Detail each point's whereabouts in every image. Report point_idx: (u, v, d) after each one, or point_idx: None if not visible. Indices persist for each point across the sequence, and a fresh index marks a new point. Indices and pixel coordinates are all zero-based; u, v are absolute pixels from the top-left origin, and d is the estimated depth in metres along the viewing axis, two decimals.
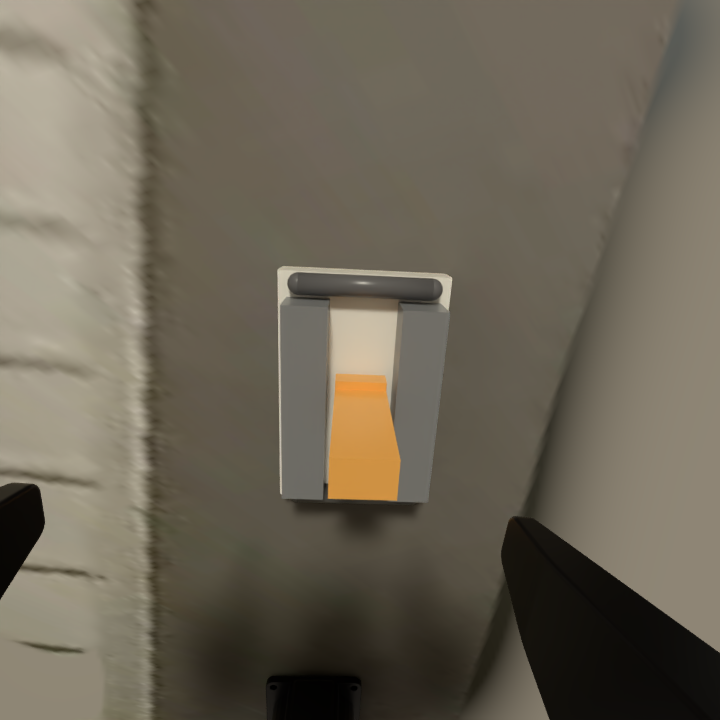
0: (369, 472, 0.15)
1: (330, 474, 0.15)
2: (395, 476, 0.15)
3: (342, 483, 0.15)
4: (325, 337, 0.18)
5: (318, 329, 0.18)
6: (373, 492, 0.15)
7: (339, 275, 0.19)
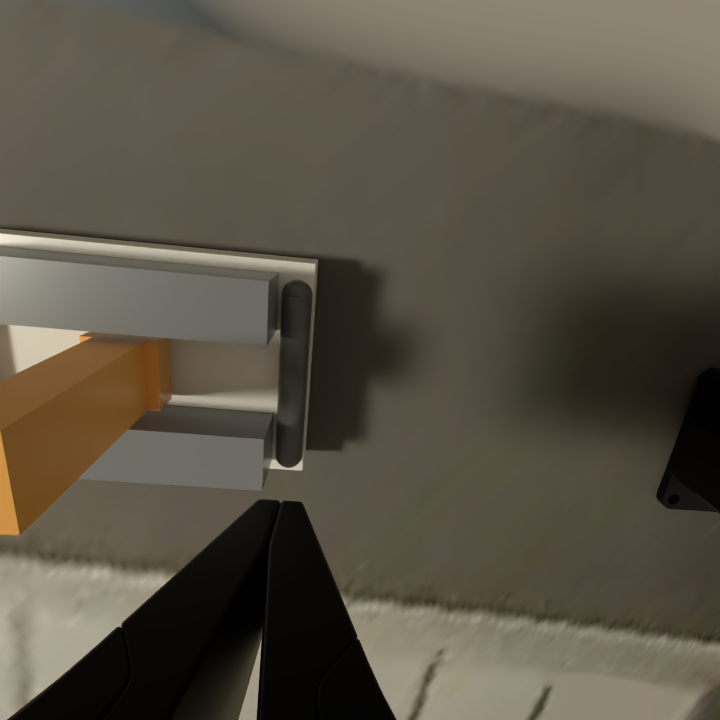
0: None
1: None
2: None
3: None
4: None
5: None
6: None
7: None
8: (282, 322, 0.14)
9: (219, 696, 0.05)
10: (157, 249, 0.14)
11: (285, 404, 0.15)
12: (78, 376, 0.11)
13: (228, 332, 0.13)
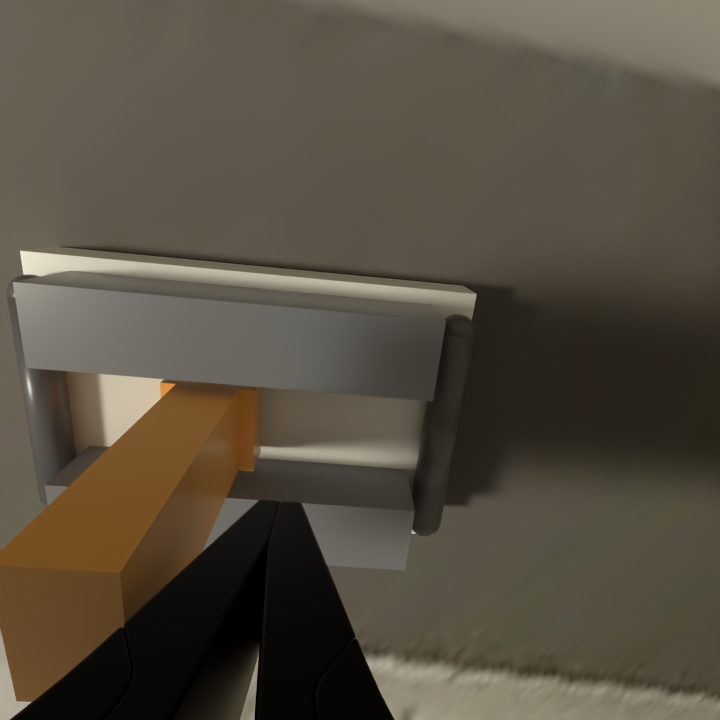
0: (40, 629, 0.06)
1: None
2: (42, 575, 0.05)
3: None
4: None
5: None
6: (101, 622, 0.06)
7: None
8: None
9: (221, 696, 0.05)
10: (285, 276, 0.11)
11: (433, 464, 0.12)
12: (186, 454, 0.08)
13: (387, 384, 0.10)
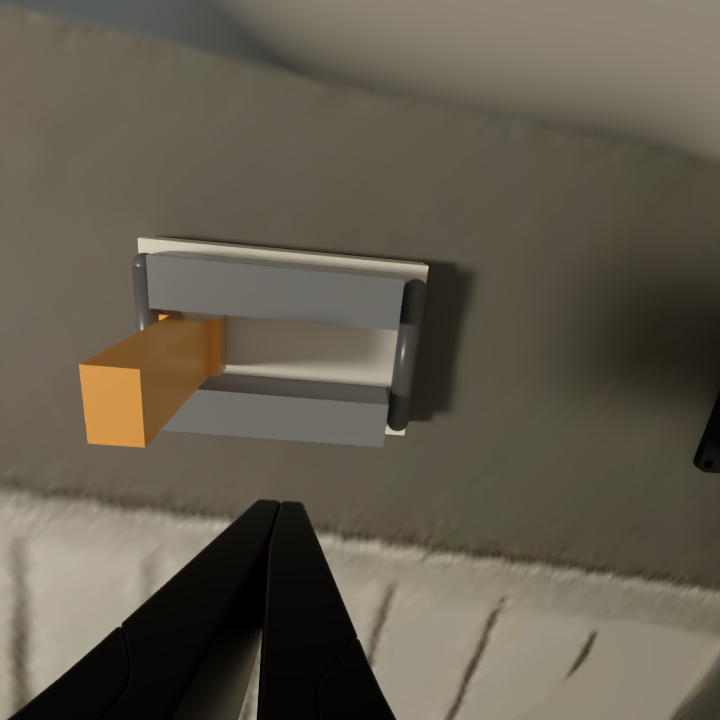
0: (101, 400, 0.12)
1: (110, 442, 0.12)
2: (103, 370, 0.12)
3: (121, 431, 0.12)
4: None
5: None
6: (130, 397, 0.12)
7: None
8: (403, 312, 0.18)
9: (219, 696, 0.05)
10: (305, 254, 0.18)
11: (401, 378, 0.19)
12: (173, 340, 0.14)
13: (369, 319, 0.17)
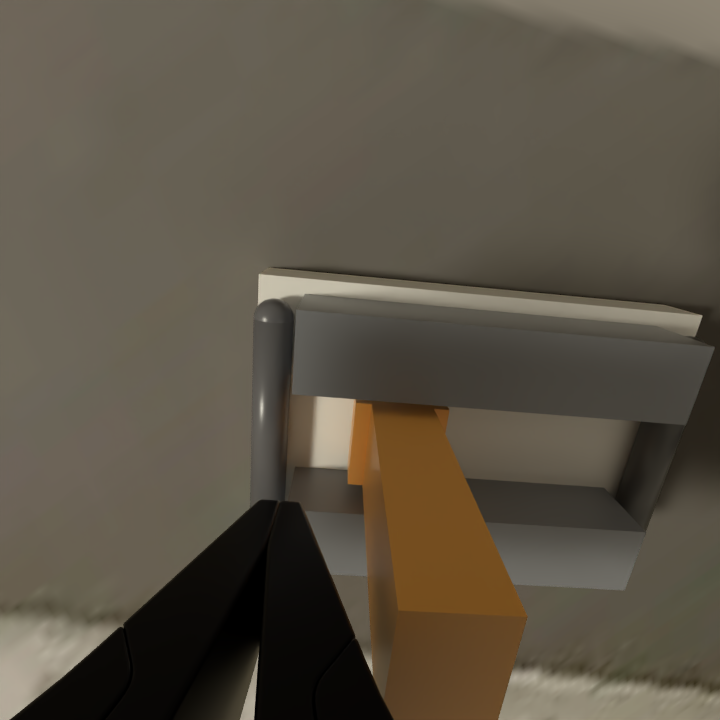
0: (427, 672, 0.06)
1: None
2: (448, 619, 0.05)
3: None
4: (337, 515, 0.11)
5: (322, 523, 0.11)
6: (489, 665, 0.06)
7: (251, 463, 0.12)
8: None
9: (221, 696, 0.05)
10: (517, 299, 0.11)
11: (650, 484, 0.12)
12: (457, 483, 0.08)
13: (645, 408, 0.10)
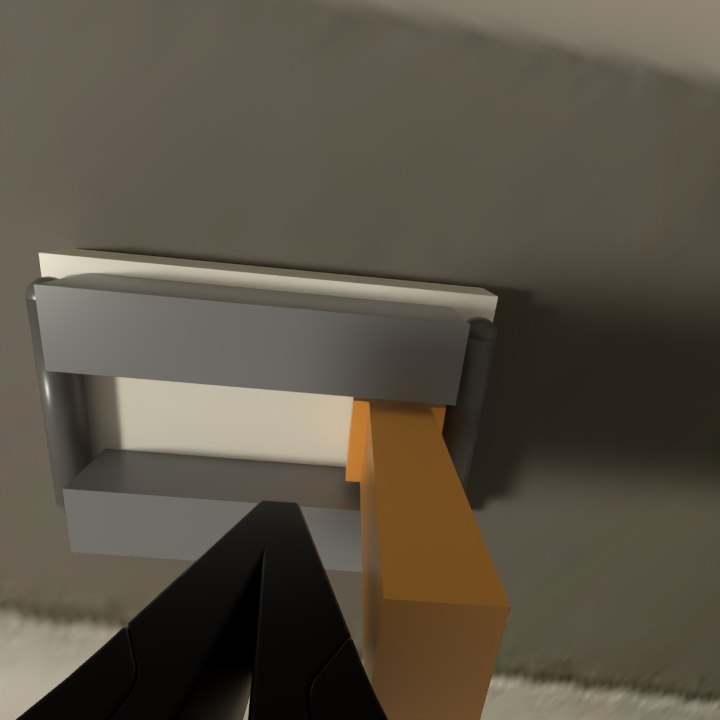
0: (413, 660, 0.06)
1: None
2: (433, 608, 0.05)
3: (437, 710, 0.06)
4: (114, 495, 0.11)
5: (102, 503, 0.11)
6: (473, 654, 0.06)
7: (48, 444, 0.12)
8: None
9: (224, 696, 0.05)
10: (304, 279, 0.11)
11: None
12: (450, 478, 0.08)
13: (409, 388, 0.10)
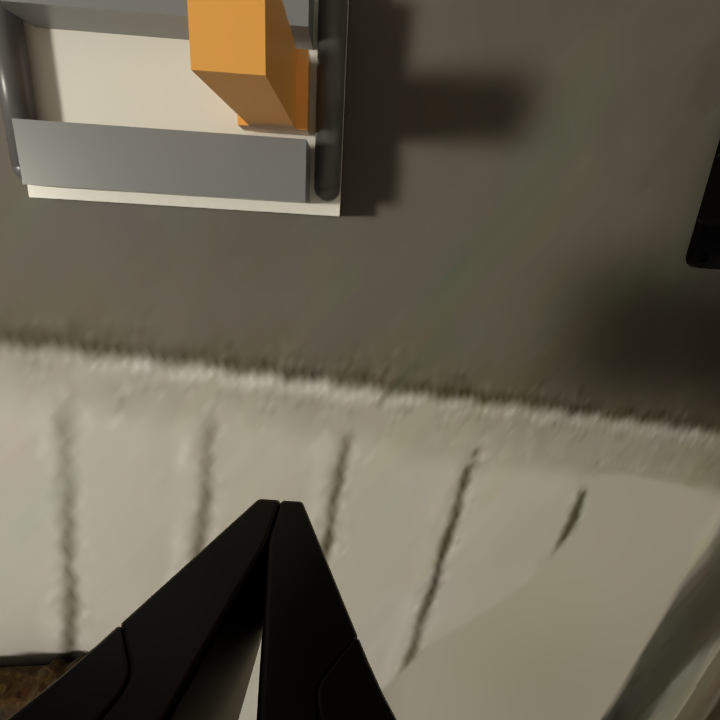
0: None
1: (221, 68, 0.09)
2: None
3: (235, 47, 0.09)
4: (53, 123, 0.14)
5: (44, 132, 0.14)
6: None
7: (2, 110, 0.15)
8: (320, 25, 0.15)
9: (219, 696, 0.05)
10: None
11: (324, 119, 0.15)
12: None
13: None
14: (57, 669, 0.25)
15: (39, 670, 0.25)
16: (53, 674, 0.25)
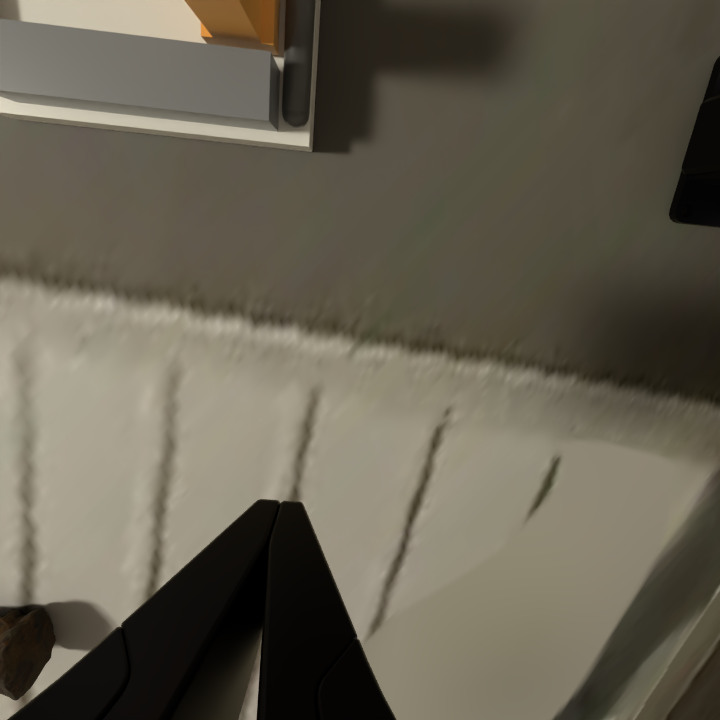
0: None
1: None
2: None
3: None
4: (4, 21, 0.13)
5: None
6: None
7: None
8: None
9: (219, 696, 0.05)
10: None
11: (292, 36, 0.15)
12: None
13: None
14: (11, 621, 0.24)
15: None
16: (6, 626, 0.24)
